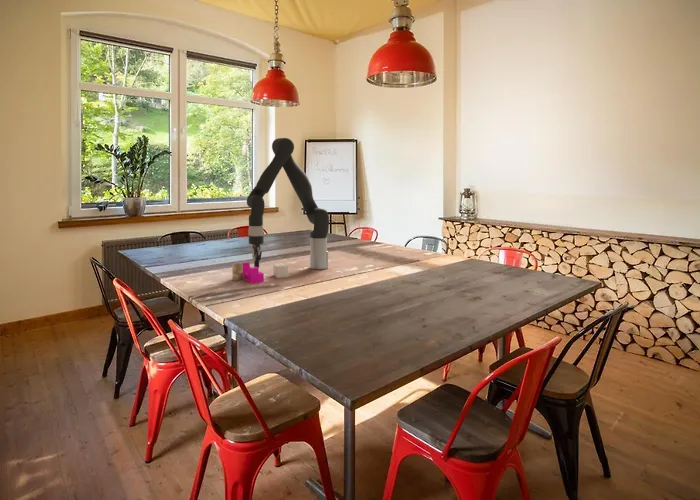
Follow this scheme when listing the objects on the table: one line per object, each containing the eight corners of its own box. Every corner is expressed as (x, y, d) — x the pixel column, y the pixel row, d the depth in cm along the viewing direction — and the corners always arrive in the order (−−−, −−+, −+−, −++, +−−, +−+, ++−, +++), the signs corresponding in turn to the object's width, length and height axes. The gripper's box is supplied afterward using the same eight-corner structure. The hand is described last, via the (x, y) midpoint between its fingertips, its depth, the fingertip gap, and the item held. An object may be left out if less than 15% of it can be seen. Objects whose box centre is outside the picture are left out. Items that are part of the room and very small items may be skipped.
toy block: (263, 282, 223) (263, 267, 222) (251, 283, 220) (251, 268, 219) (253, 276, 236) (253, 261, 234) (241, 277, 233) (241, 262, 231)
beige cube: (284, 274, 240) (284, 263, 239) (288, 277, 234) (288, 265, 233) (273, 275, 237) (273, 264, 236) (276, 278, 232) (276, 266, 231)
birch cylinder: (241, 278, 230) (241, 262, 228) (243, 280, 225) (243, 264, 224) (231, 279, 228) (231, 263, 226) (233, 281, 223) (233, 265, 222)
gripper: (266, 236, 228) (267, 269, 231) (260, 232, 240) (260, 264, 243) (251, 236, 225) (252, 271, 228) (245, 233, 237) (246, 265, 240)
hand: (256, 267), depth 235 cm, fingers closed
